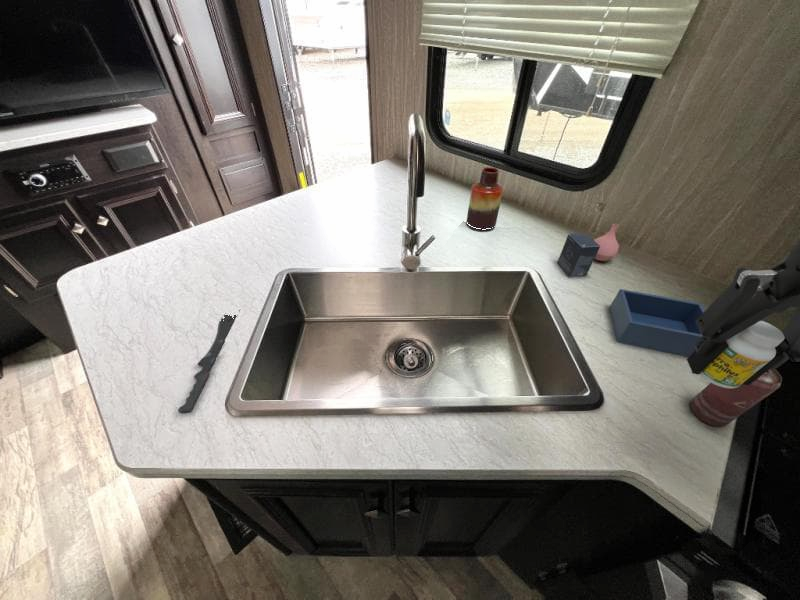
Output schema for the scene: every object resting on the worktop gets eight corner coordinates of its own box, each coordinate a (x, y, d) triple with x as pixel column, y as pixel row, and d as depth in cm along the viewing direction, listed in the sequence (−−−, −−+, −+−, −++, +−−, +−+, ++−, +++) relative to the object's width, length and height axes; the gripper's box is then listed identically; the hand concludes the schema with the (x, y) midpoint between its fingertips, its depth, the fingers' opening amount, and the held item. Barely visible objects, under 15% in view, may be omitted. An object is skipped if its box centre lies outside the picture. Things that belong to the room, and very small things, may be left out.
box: (586, 276, 96) (601, 246, 88) (568, 277, 95) (582, 247, 88) (573, 261, 101) (586, 231, 94) (556, 262, 101) (568, 232, 94)
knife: (229, 303, 86) (229, 302, 86) (245, 303, 87) (244, 301, 86) (170, 413, 63) (168, 411, 62) (191, 412, 63) (190, 410, 62)
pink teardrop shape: (612, 255, 104) (630, 222, 96) (612, 267, 99) (630, 233, 91) (586, 249, 106) (601, 216, 98) (585, 261, 101) (600, 227, 93)
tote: (684, 322, 81) (701, 303, 77) (702, 360, 72) (722, 340, 68) (608, 307, 85) (620, 288, 81) (616, 341, 76) (630, 322, 72)
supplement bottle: (746, 380, 46) (801, 336, 40) (726, 395, 44) (781, 351, 38) (705, 354, 50) (750, 310, 44) (686, 367, 48) (729, 323, 42)
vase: (483, 235, 114) (494, 178, 100) (460, 224, 120) (467, 169, 106) (501, 225, 119) (513, 170, 106) (477, 215, 125) (487, 161, 112)
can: (725, 407, 63) (781, 364, 54) (728, 433, 59) (789, 392, 50) (688, 392, 66) (735, 349, 56) (689, 416, 62) (740, 374, 52)
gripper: (960, 230, 32) (778, 367, 48) (742, 205, 36) (640, 339, 52) (1044, 272, 27) (809, 411, 42) (777, 238, 31) (652, 376, 47)
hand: (716, 371), depth 47 cm, fingers closed on supplement bottle, 5 cm apart
